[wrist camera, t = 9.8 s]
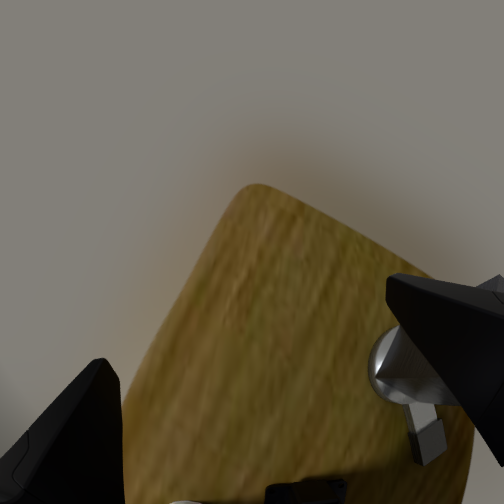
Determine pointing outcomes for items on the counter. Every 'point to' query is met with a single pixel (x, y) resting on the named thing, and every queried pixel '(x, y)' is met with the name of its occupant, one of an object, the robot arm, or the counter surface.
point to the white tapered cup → (185, 502)
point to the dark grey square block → (420, 366)
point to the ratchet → (409, 408)
